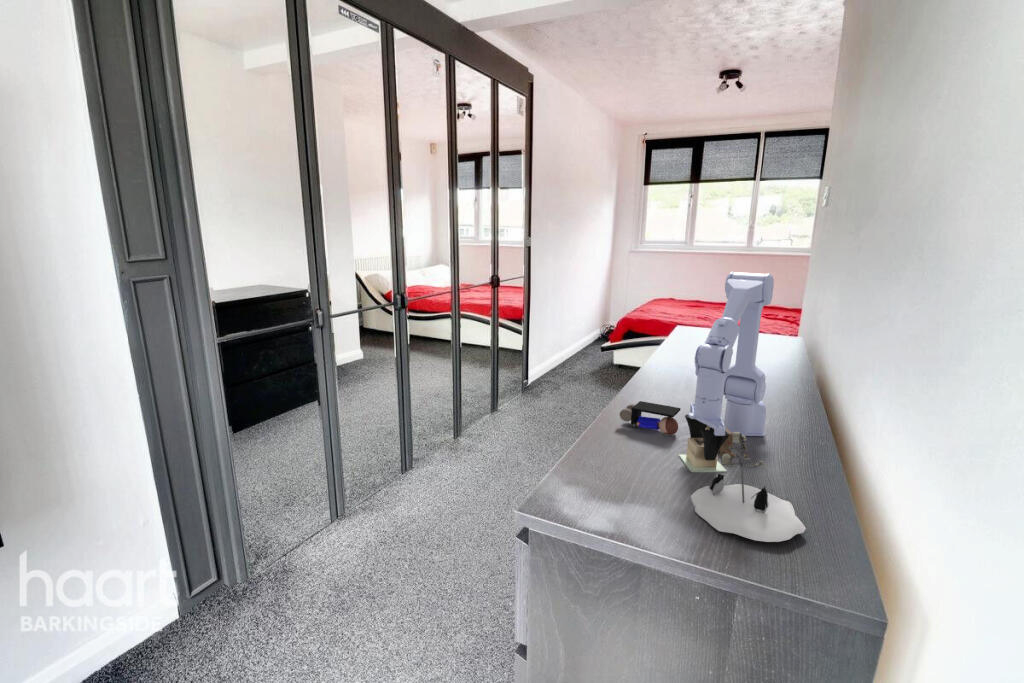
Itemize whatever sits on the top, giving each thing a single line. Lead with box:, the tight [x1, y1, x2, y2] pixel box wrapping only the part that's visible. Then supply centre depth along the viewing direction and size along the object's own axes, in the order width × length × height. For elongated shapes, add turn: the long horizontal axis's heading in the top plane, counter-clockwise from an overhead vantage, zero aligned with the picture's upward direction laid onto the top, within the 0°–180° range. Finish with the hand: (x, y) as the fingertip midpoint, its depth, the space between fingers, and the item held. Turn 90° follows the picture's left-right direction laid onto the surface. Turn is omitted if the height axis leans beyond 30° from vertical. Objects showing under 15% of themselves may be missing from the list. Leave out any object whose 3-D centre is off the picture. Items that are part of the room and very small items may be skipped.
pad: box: [678, 453, 727, 473], centre depth 109 cm, size 8×8×1 cm
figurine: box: [690, 432, 807, 543], centre depth 88 cm, size 20×18×16 cm
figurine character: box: [619, 400, 681, 437], centre depth 127 cm, size 7×8×15 cm
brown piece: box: [706, 425, 736, 458], centre depth 117 cm, size 3×12×6 cm, turn 0°
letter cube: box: [686, 437, 719, 467], centre depth 108 cm, size 5×5×5 cm
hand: (702, 451), depth 108 cm, fingers open, 7 cm apart
